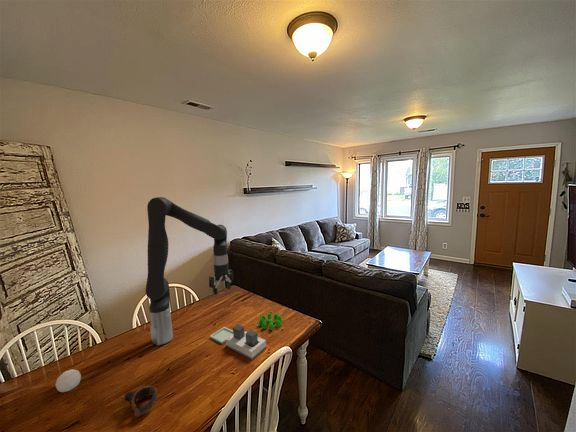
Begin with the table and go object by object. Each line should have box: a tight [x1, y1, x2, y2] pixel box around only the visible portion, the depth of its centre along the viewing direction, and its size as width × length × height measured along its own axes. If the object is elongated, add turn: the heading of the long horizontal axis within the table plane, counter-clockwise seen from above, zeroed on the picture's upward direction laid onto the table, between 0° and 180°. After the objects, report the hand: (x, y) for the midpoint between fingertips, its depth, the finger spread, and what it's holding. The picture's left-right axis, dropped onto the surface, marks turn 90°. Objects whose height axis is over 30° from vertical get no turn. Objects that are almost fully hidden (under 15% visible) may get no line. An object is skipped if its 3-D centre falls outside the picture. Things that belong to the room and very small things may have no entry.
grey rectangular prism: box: [245, 329, 259, 347], centre depth 118 cm, size 4×4×8 cm
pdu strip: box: [225, 324, 267, 361], centre depth 121 cm, size 10×18×9 cm, turn 55°
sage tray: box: [209, 326, 233, 345], centre depth 132 cm, size 10×10×1 cm
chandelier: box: [256, 311, 284, 331], centre depth 141 cm, size 15×15×7 cm
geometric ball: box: [55, 368, 82, 393], centre depth 99 cm, size 8×8×8 cm
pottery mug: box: [124, 385, 159, 418], centre depth 90 cm, size 12×9×8 cm
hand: (222, 291), depth 132 cm, fingers open, 8 cm apart
